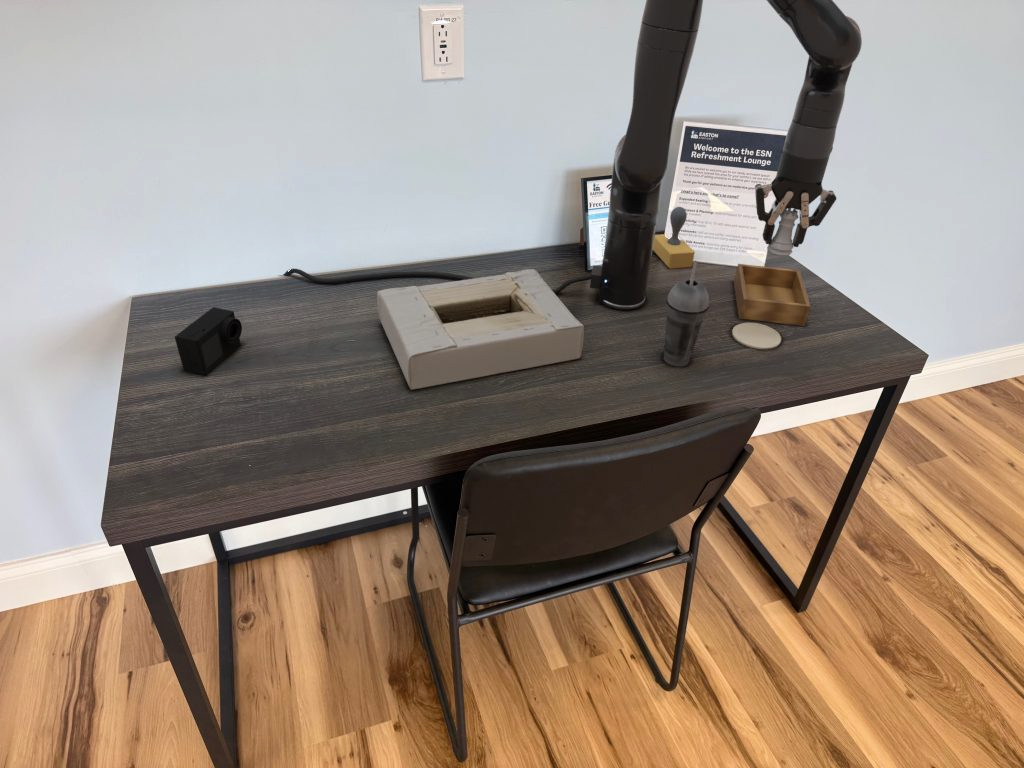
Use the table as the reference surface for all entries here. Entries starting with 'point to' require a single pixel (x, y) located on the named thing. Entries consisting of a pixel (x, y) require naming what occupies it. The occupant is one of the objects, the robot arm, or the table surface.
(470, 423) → the table surface
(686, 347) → the beverage cup
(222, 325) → the digital camera
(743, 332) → the coaster
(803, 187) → the robot arm
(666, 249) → the rubber stamp
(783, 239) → the rook chess piece
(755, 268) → the wooden tray
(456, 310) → the box
